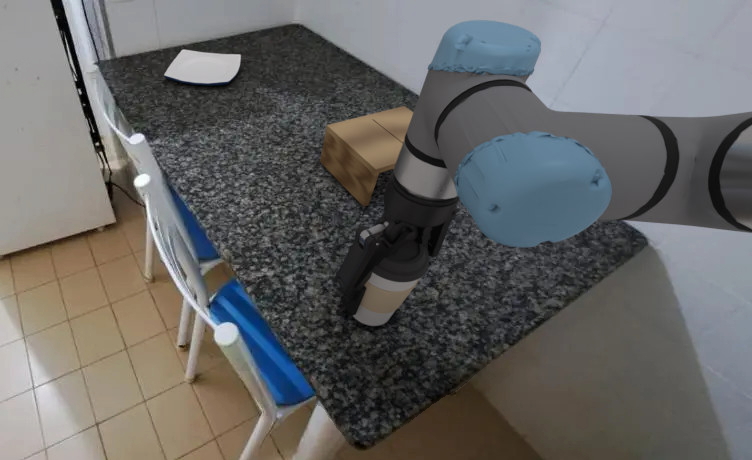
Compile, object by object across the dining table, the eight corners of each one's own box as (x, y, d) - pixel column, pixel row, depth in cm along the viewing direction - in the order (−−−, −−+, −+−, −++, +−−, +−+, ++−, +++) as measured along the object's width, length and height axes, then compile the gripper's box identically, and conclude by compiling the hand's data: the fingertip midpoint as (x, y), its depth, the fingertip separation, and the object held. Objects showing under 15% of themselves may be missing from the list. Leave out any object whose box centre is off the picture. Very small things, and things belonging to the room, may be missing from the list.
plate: (160, 85, 110) (159, 76, 108) (181, 56, 124) (180, 47, 122) (231, 93, 108) (231, 83, 106) (244, 62, 122) (244, 53, 120)
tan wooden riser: (441, 181, 82) (460, 143, 75) (363, 207, 76) (376, 168, 69) (391, 141, 92) (404, 105, 85) (319, 161, 86) (326, 124, 79)
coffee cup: (394, 285, 63) (427, 219, 52) (404, 335, 57) (444, 273, 46) (337, 280, 64) (358, 214, 53) (341, 329, 58) (366, 266, 47)
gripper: (472, 140, 48) (411, 258, 64) (325, 184, 42) (299, 302, 58) (525, 175, 43) (445, 292, 60) (368, 231, 37) (327, 344, 53)
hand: (373, 297), depth 59 cm, fingers closed on coffee cup, 8 cm apart
